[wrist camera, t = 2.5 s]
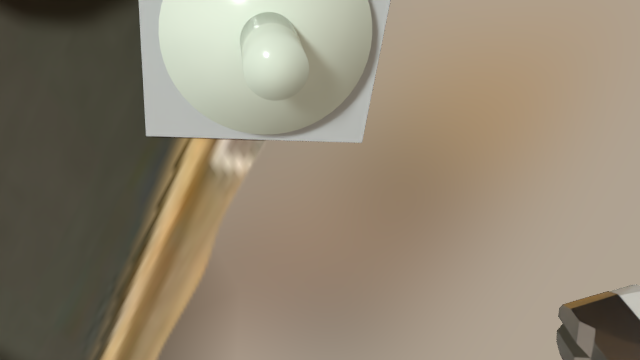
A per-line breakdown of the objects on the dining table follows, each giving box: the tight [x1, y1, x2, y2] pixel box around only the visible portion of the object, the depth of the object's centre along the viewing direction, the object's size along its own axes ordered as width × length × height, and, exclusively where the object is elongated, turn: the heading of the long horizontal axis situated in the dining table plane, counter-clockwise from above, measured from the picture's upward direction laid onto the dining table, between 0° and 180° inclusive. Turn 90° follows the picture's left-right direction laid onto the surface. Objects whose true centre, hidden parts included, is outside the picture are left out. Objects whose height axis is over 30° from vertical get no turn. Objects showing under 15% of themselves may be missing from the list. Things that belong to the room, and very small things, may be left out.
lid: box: [158, 0, 372, 135], centre depth 26 cm, size 11×11×5 cm
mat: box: [139, 0, 391, 143], centre depth 28 cm, size 13×13×1 cm
